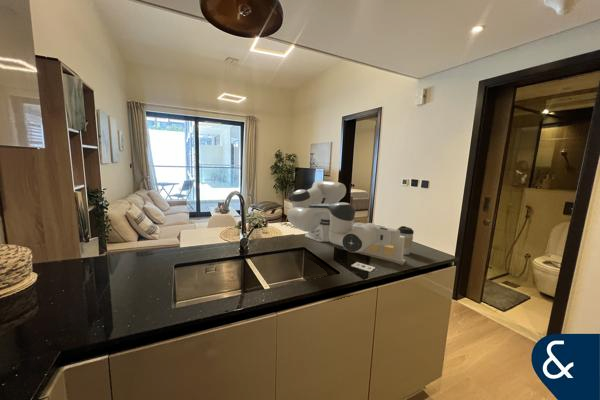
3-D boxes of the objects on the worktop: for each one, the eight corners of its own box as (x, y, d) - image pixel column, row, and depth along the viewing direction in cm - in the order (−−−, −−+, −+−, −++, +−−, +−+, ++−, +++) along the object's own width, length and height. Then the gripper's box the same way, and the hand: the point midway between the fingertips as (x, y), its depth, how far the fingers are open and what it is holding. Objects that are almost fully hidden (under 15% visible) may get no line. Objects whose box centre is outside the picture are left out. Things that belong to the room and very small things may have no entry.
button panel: (352, 251, 144) (354, 228, 141) (356, 249, 147) (358, 226, 145) (402, 264, 126) (404, 238, 124) (405, 261, 130) (407, 236, 128)
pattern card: (351, 266, 123) (351, 265, 123) (356, 262, 128) (356, 261, 127) (370, 272, 117) (370, 271, 117) (375, 268, 121) (375, 267, 121)
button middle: (368, 249, 131) (369, 242, 130) (374, 246, 136) (374, 239, 136) (376, 251, 128) (376, 244, 128) (381, 248, 134) (381, 241, 133)
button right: (383, 253, 126) (384, 246, 125) (388, 249, 132) (389, 242, 131) (391, 255, 123) (392, 248, 123) (396, 251, 129) (396, 244, 128)
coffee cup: (414, 255, 139) (417, 229, 137) (398, 255, 139) (400, 229, 137) (407, 250, 148) (410, 225, 146) (392, 249, 148) (394, 225, 146)
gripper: (346, 236, 109) (359, 230, 120) (392, 246, 97) (403, 238, 107) (346, 222, 108) (360, 217, 119) (394, 231, 96) (404, 224, 106)
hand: (381, 227), depth 113 cm, fingers closed
